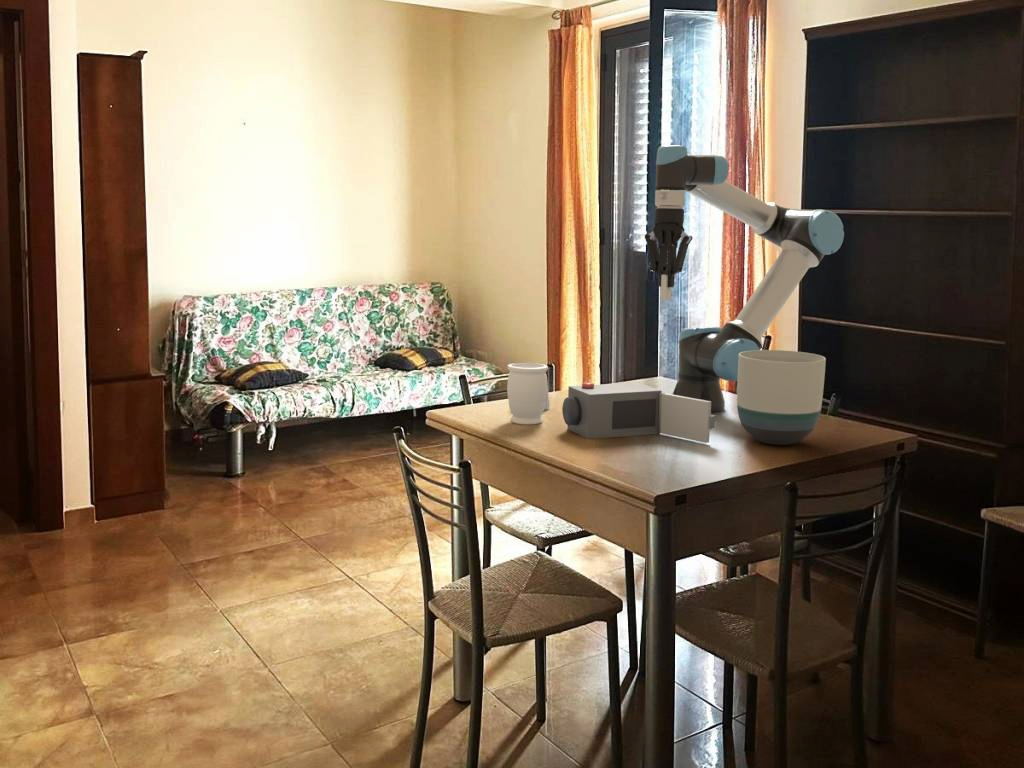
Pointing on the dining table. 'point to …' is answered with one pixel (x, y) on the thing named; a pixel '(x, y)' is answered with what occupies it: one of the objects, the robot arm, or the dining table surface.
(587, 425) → the camera body
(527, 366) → the jar
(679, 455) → the dining table surface
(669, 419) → the door
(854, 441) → the dining table surface
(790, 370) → the planter
